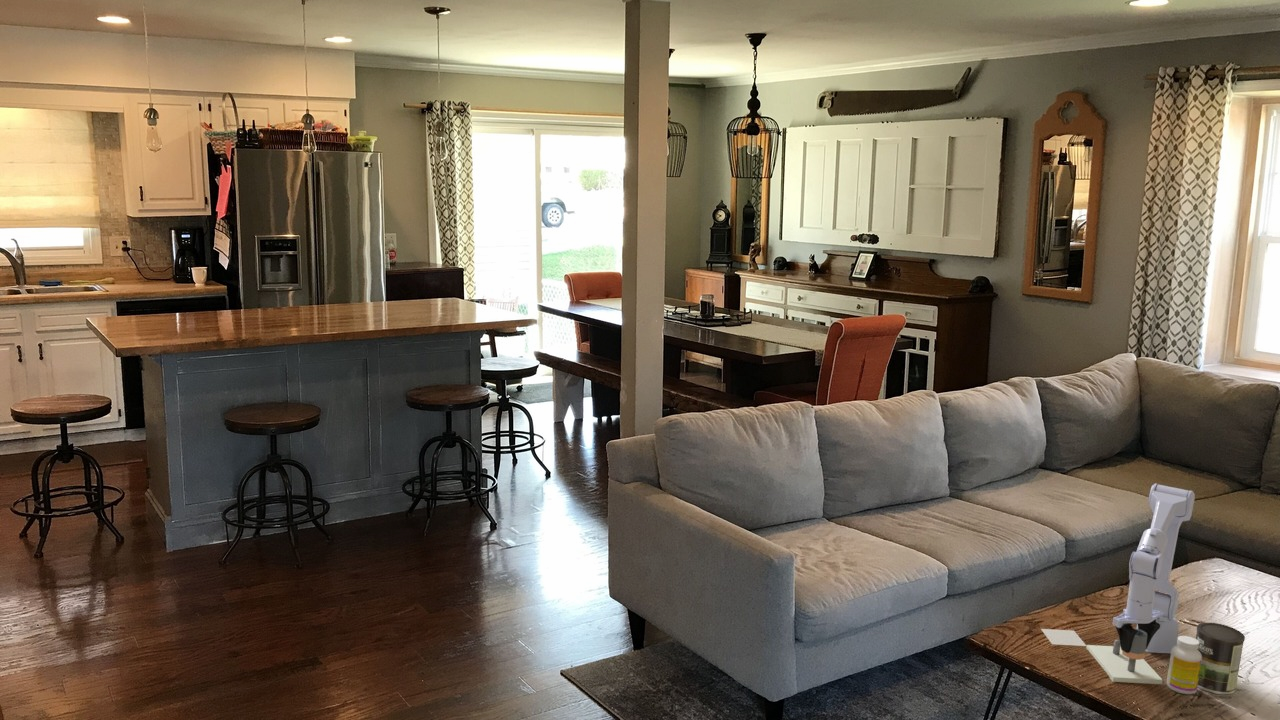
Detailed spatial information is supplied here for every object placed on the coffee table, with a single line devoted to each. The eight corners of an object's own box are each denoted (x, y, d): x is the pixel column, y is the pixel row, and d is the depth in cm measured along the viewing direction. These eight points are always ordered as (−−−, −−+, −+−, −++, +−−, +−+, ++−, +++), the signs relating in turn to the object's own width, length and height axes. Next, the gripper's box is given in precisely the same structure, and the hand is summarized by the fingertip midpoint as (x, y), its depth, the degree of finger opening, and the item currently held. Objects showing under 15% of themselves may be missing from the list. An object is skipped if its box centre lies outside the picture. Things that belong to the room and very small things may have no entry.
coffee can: (1206, 695, 242) (1214, 641, 239) (1180, 674, 252) (1187, 622, 249) (1246, 694, 243) (1254, 641, 240) (1218, 673, 253) (1226, 622, 250)
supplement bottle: (1200, 697, 241) (1208, 648, 238) (1171, 693, 242) (1178, 644, 240) (1191, 683, 247) (1198, 635, 245) (1162, 680, 248) (1169, 632, 246)
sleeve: (1132, 648, 253) (1135, 626, 251) (1148, 657, 248) (1151, 635, 247) (1117, 651, 251) (1120, 629, 250) (1133, 660, 246) (1136, 638, 245)
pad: (1073, 631, 273) (1074, 630, 273) (1086, 647, 264) (1086, 646, 264) (1040, 630, 274) (1040, 628, 274) (1052, 645, 265) (1052, 644, 265)
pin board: (1132, 651, 263) (1134, 633, 262) (1162, 684, 246) (1164, 665, 245) (1086, 649, 263) (1088, 631, 262) (1112, 681, 247) (1115, 663, 246)
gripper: (1149, 588, 253) (1142, 638, 255) (1105, 595, 248) (1099, 646, 250) (1172, 600, 246) (1165, 650, 249) (1128, 607, 241) (1121, 659, 244)
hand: (1133, 649), depth 249 cm, fingers closed on sleeve, 5 cm apart
